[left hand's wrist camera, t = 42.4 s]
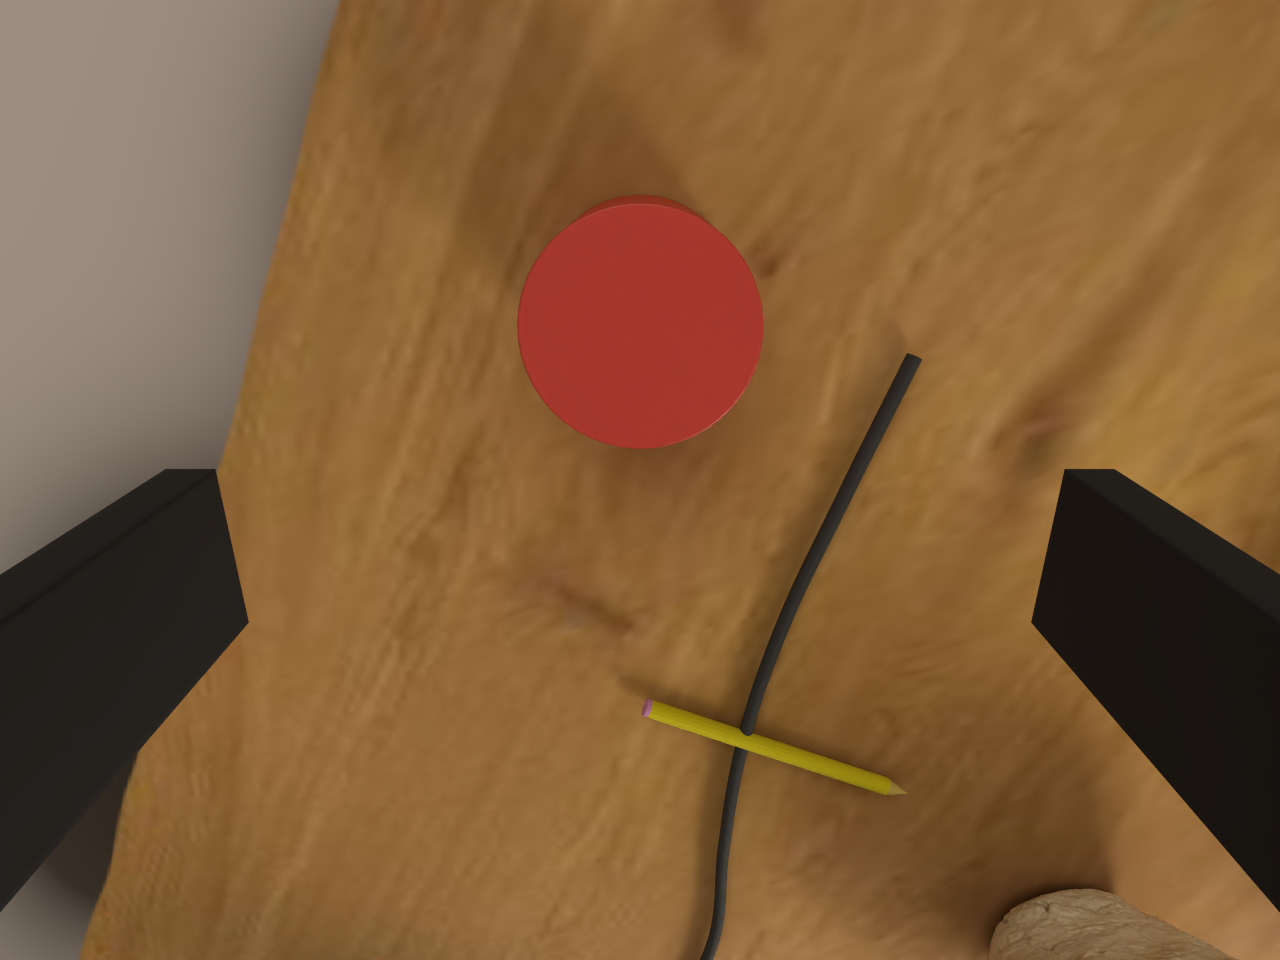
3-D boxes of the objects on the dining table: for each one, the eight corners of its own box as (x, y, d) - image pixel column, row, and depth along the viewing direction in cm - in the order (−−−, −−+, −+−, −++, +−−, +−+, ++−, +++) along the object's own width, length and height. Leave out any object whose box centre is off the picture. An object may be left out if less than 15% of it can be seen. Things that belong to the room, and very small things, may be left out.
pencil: (641, 708, 44) (641, 719, 43) (648, 694, 43) (648, 706, 42) (901, 793, 46) (906, 806, 45) (909, 781, 46) (915, 793, 45)
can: (541, 386, 37) (516, 441, 30) (544, 187, 34) (517, 194, 26) (726, 398, 37) (748, 455, 30) (748, 201, 34) (778, 211, 26)
